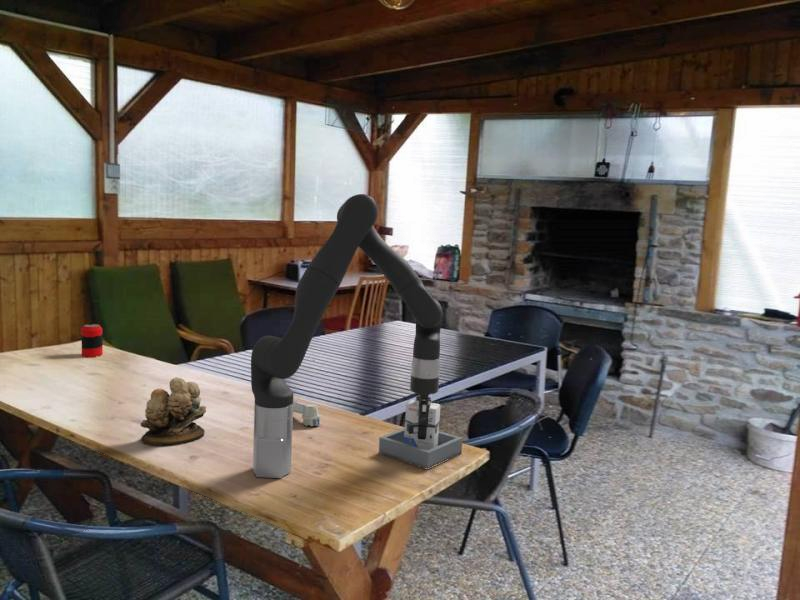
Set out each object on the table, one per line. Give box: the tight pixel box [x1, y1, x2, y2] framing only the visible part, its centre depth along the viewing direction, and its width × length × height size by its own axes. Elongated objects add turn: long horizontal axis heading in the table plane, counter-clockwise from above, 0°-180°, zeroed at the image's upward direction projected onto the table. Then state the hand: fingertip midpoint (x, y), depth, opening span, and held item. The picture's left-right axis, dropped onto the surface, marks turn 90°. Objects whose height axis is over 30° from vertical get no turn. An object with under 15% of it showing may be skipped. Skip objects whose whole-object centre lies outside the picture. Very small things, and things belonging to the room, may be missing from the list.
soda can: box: [81, 323, 104, 358], centre depth 276 cm, size 8×8×12 cm
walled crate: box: [378, 427, 463, 470], centre depth 189 cm, size 16×16×4 cm
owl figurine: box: [140, 376, 207, 447], centre depth 190 cm, size 18×12×17 cm, turn 133°
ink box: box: [404, 399, 441, 450], centre depth 188 cm, size 8×5×12 cm, turn 73°
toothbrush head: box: [293, 399, 322, 427], centre depth 215 cm, size 5×7×25 cm
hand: (421, 434), depth 188 cm, fingers closed on ink box, 6 cm apart
